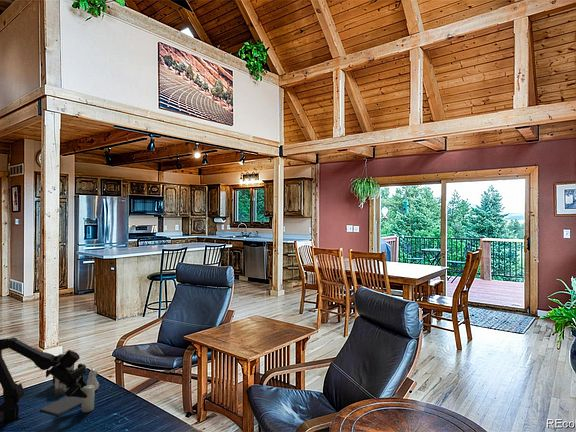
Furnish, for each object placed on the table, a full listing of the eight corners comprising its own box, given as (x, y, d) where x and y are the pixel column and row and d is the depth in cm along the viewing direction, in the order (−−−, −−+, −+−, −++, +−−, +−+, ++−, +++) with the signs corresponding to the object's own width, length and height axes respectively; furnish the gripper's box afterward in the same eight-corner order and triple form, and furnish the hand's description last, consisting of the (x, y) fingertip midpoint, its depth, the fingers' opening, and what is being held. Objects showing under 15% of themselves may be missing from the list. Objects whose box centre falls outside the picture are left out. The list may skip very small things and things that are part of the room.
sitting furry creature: (78, 390, 204) (79, 369, 204) (94, 385, 211) (95, 364, 211) (86, 395, 198) (87, 373, 199) (102, 390, 205) (103, 368, 206)
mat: (58, 415, 177) (58, 414, 177) (40, 410, 182) (40, 408, 182) (87, 401, 192) (87, 399, 192) (69, 396, 197) (69, 395, 197)
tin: (60, 396, 197) (61, 381, 197) (51, 394, 200) (52, 379, 200) (72, 391, 204) (73, 376, 204) (63, 388, 206) (64, 374, 206)
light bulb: (86, 413, 180) (87, 390, 180) (78, 410, 182) (79, 388, 182) (96, 408, 185) (97, 386, 186) (88, 405, 187) (89, 384, 188)
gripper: (73, 367, 174) (99, 387, 178) (78, 355, 191) (102, 373, 195) (54, 387, 170) (80, 406, 174) (60, 372, 187) (84, 390, 191)
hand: (87, 393), depth 184 cm, fingers open, 9 cm apart
